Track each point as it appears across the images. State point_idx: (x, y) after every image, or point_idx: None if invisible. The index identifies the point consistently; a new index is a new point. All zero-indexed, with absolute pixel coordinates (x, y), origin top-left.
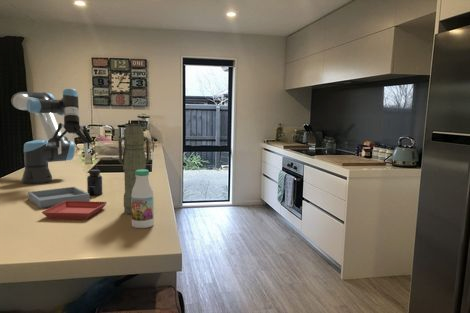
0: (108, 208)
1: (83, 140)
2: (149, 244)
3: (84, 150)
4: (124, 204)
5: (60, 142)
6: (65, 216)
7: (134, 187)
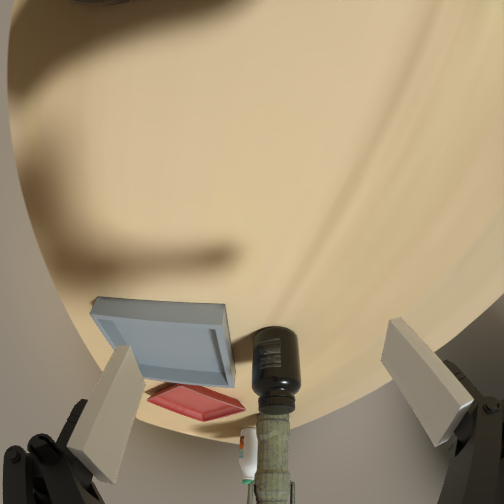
0: (248, 401)
1: (465, 458)
2: (234, 439)
3: (418, 352)
4: (256, 426)
5: (114, 468)
6: (177, 406)
7: (241, 468)
